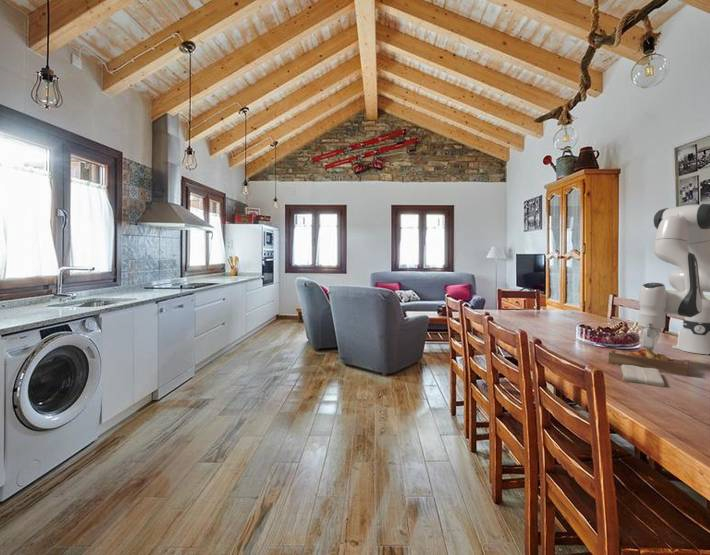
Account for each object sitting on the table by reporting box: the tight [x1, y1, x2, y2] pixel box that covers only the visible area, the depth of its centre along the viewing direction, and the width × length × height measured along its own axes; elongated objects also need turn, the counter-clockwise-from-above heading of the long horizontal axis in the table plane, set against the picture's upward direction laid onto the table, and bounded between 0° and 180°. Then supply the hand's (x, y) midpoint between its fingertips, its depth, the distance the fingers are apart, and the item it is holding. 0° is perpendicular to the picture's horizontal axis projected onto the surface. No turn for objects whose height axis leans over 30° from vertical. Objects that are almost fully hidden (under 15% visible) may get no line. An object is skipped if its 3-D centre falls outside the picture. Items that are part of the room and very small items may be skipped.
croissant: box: [625, 348, 679, 362], centre depth 154 cm, size 21×10×8 cm, turn 59°
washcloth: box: [620, 365, 665, 387], centre depth 139 cm, size 12×18×3 cm, turn 148°
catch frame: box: [608, 348, 690, 377], centre depth 152 cm, size 8×24×4 cm, turn 47°
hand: (649, 355), depth 158 cm, fingers closed
